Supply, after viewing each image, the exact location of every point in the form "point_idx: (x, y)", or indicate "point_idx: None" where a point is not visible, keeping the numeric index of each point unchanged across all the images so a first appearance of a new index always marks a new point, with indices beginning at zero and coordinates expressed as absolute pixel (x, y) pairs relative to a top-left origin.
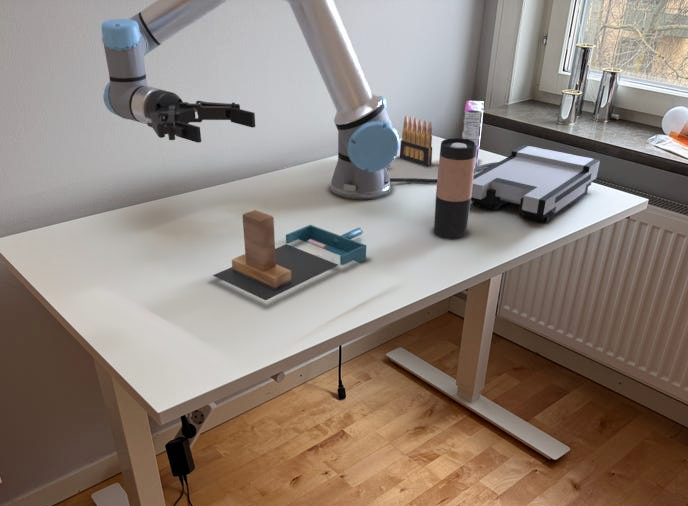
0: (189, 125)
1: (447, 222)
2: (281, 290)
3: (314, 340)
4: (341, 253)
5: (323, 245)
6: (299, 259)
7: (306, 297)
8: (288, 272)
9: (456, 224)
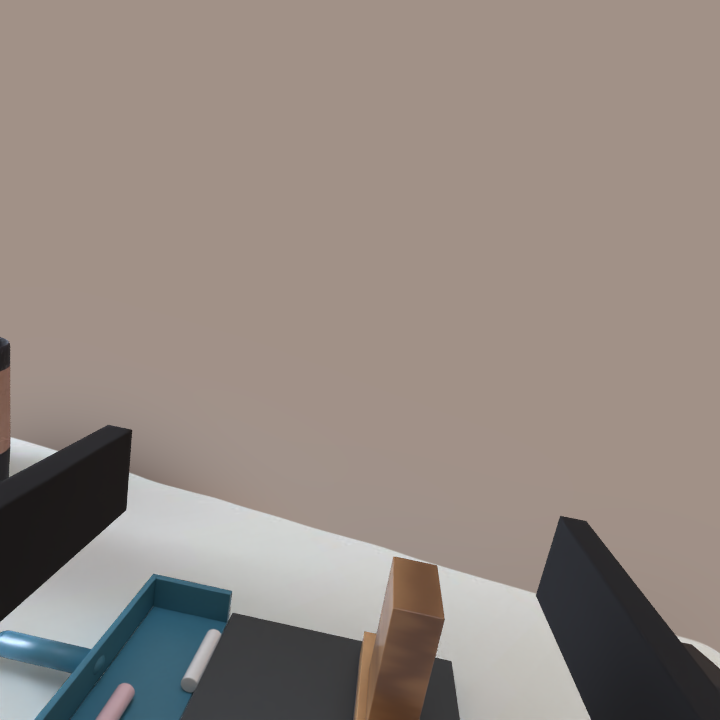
0: (621, 572)
1: None
2: None
3: (452, 571)
4: (133, 654)
5: (129, 686)
6: (241, 701)
7: (364, 631)
8: (372, 634)
9: None
